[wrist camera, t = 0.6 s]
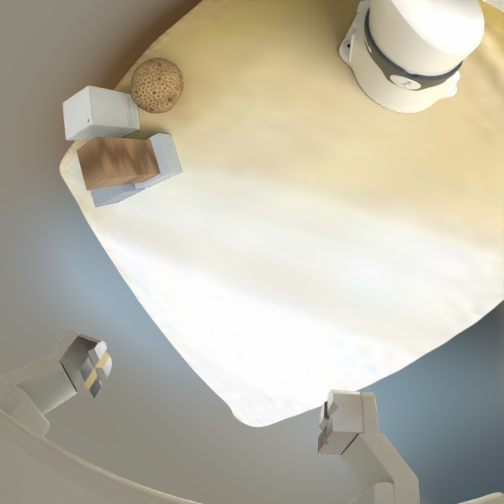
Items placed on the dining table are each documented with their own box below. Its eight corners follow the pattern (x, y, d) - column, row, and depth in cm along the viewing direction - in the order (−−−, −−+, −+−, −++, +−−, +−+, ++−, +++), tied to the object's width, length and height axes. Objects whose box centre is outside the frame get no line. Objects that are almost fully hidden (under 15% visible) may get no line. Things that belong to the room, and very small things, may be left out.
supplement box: (136, 94, 48) (89, 83, 37) (141, 130, 50) (93, 125, 38) (108, 108, 51) (61, 102, 39) (112, 141, 52) (64, 141, 41)
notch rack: (182, 171, 50) (161, 173, 44) (118, 202, 55) (95, 207, 49) (171, 134, 49) (149, 131, 43) (108, 169, 54) (85, 171, 48)
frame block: (160, 173, 47) (105, 178, 35) (142, 182, 48) (86, 190, 36) (150, 140, 46) (94, 137, 34) (132, 150, 47) (76, 150, 35)
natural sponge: (197, 111, 46) (164, 101, 37) (153, 120, 49) (117, 115, 40) (195, 63, 44) (164, 45, 35) (152, 75, 47) (117, 63, 37)
